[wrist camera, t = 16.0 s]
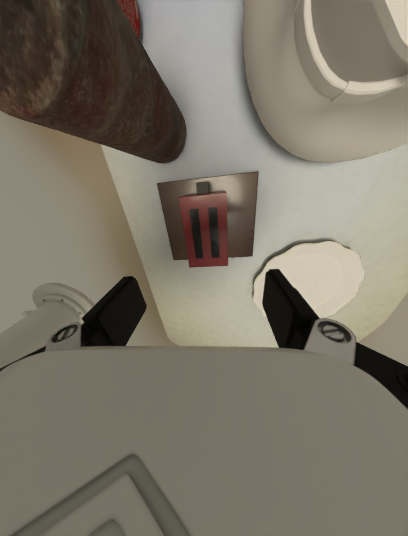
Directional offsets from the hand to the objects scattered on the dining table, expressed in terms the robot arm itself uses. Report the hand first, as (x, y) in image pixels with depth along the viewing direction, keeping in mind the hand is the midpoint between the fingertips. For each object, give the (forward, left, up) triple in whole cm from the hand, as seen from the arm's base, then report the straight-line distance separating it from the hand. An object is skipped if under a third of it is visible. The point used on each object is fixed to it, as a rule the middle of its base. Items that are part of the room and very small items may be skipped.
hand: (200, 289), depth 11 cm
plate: (+19, -14, -20) cm, 31 cm away
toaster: (0, +1, -18) cm, 18 cm away
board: (0, +1, -19) cm, 19 cm away
